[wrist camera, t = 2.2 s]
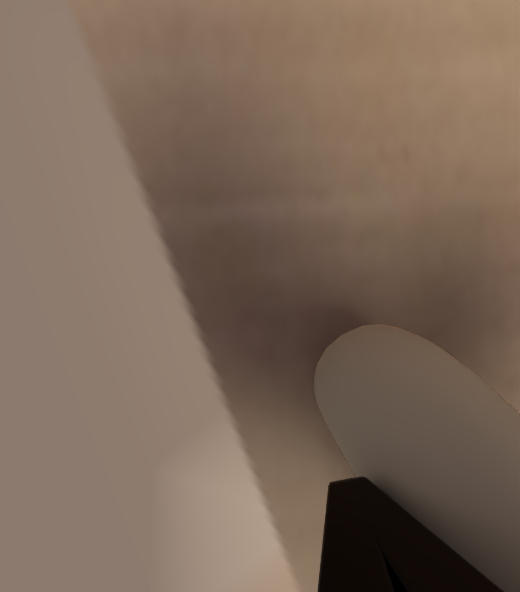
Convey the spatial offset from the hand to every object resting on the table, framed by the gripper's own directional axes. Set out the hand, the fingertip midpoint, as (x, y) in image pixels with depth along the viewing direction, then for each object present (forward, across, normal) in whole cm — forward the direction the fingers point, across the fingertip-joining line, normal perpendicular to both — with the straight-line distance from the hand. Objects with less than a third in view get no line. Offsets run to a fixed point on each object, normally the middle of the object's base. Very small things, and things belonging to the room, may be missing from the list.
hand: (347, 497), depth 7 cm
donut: (+7, -3, +3) cm, 8 cm away
